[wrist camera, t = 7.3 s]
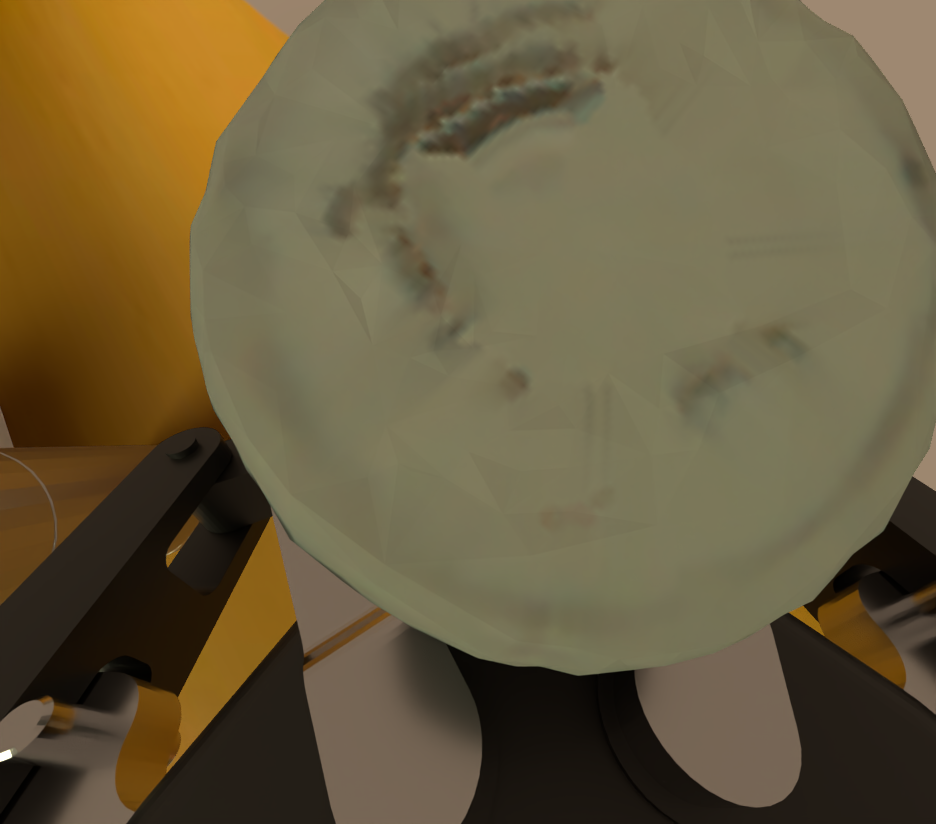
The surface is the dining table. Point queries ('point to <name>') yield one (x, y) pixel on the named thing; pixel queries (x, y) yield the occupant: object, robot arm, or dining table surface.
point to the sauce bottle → (573, 314)
